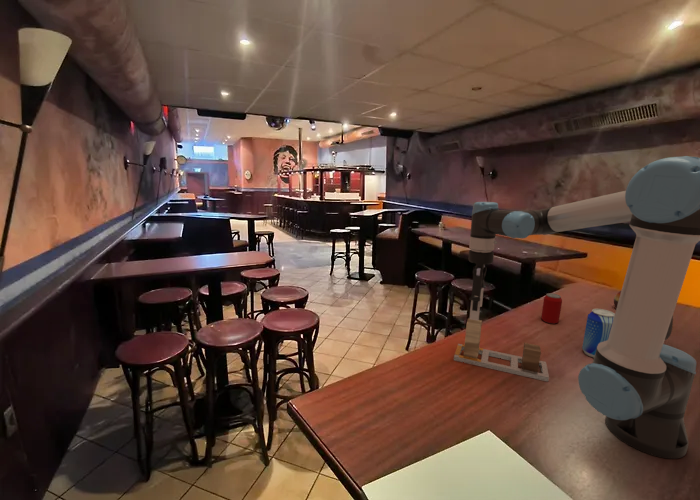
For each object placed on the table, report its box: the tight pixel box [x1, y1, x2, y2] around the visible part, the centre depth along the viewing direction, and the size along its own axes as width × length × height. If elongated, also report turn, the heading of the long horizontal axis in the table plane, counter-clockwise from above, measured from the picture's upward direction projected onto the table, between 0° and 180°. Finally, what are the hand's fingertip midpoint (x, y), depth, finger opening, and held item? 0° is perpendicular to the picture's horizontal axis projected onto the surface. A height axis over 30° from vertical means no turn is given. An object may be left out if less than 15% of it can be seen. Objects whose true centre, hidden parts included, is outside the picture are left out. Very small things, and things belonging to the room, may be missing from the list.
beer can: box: [581, 308, 615, 359], centre depth 120 cm, size 8×8×16 cm
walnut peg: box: [520, 342, 542, 373], centre depth 110 cm, size 4×4×8 cm
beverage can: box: [540, 292, 563, 325], centre depth 148 cm, size 7×7×12 cm
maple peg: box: [463, 317, 483, 359], centre depth 117 cm, size 4×4×13 cm
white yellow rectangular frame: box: [453, 343, 550, 382], centre depth 114 cm, size 10×28×2 cm, turn 65°
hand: (476, 312), depth 114 cm, fingers open, 13 cm apart
